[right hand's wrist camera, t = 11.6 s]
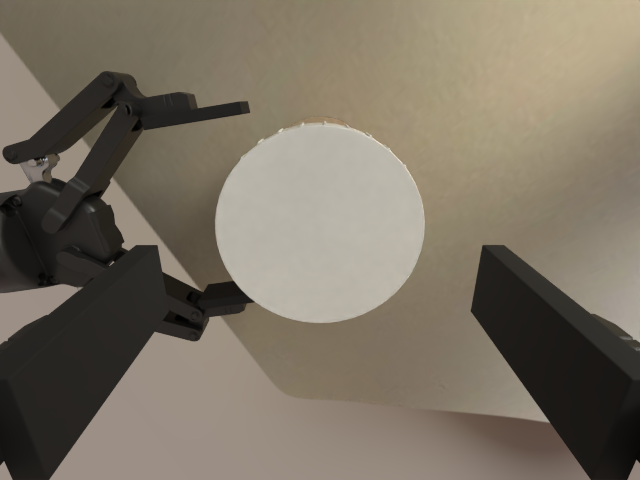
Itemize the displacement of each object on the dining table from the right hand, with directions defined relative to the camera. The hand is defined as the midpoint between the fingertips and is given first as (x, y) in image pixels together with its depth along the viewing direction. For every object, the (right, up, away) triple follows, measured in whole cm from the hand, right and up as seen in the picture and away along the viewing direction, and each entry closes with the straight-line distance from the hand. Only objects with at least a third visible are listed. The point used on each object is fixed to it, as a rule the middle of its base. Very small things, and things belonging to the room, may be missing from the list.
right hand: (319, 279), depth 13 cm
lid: (0, +2, +5) cm, 5 cm away
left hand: (-4, +4, +13) cm, 14 cm away
